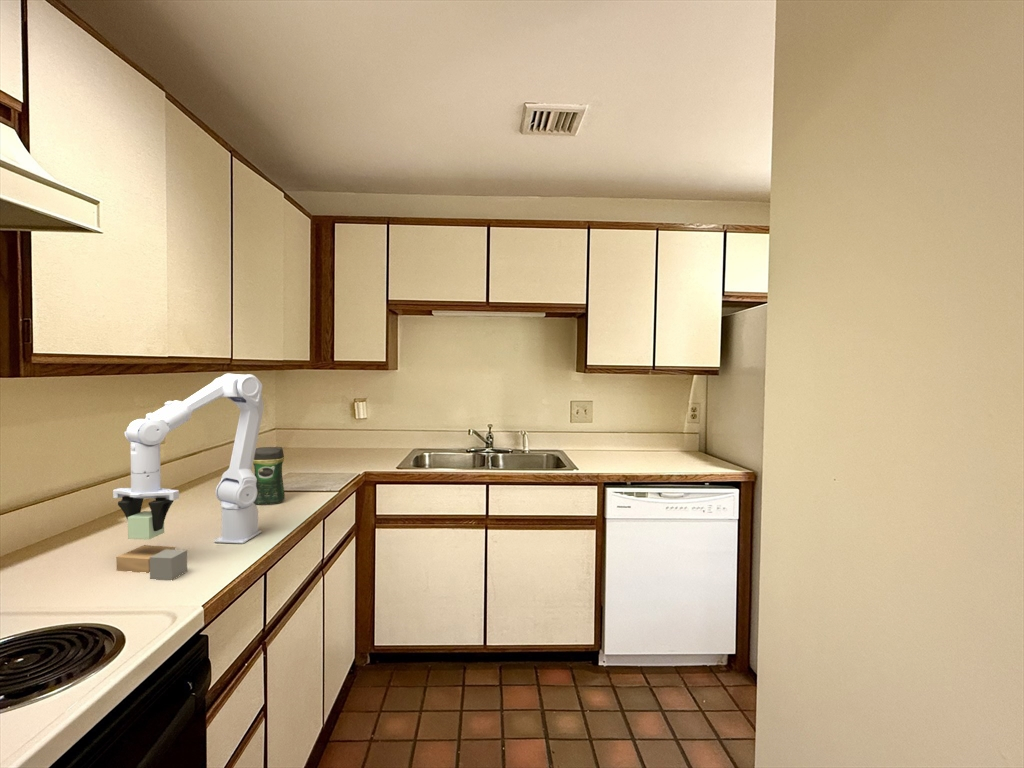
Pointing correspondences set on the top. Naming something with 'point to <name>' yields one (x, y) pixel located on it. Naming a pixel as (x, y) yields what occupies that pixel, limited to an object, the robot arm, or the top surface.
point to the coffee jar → (269, 475)
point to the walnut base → (139, 558)
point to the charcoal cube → (168, 564)
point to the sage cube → (142, 526)
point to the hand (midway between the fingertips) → (146, 529)
